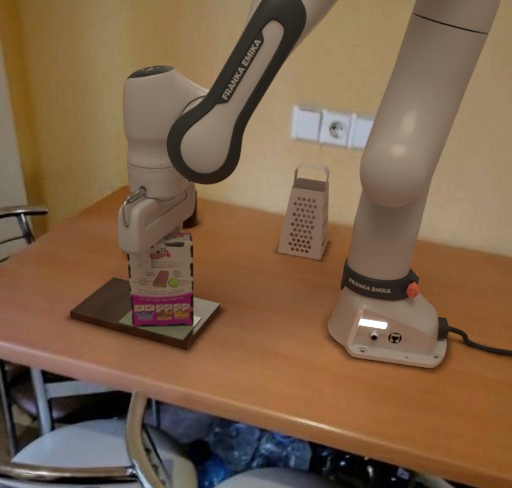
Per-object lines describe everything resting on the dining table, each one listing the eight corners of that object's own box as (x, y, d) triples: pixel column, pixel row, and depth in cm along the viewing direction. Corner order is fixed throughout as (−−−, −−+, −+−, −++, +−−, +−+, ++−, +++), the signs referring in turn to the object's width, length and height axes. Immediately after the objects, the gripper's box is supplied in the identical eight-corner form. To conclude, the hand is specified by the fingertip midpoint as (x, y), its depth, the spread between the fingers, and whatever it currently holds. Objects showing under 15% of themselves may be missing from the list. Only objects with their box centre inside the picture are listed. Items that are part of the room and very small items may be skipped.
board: (220, 310, 111) (220, 302, 110) (186, 350, 99) (186, 342, 98) (114, 283, 117) (113, 276, 116) (70, 318, 105) (69, 310, 104)
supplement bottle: (202, 222, 146) (203, 177, 139) (186, 231, 141) (186, 184, 134) (181, 216, 149) (181, 171, 142) (165, 223, 144) (163, 177, 137)
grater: (320, 259, 133) (332, 176, 122) (277, 252, 135) (285, 169, 123) (327, 242, 141) (339, 163, 130) (286, 235, 143) (295, 156, 132)
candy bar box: (192, 311, 107) (192, 231, 98) (194, 326, 103) (194, 244, 94) (132, 312, 105) (127, 231, 96) (131, 327, 101) (125, 244, 92)
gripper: (141, 202, 80) (147, 288, 88) (201, 164, 96) (202, 238, 104) (102, 195, 82) (112, 280, 89) (168, 158, 98) (171, 232, 105)
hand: (161, 257), depth 97 cm, fingers open, 8 cm apart
